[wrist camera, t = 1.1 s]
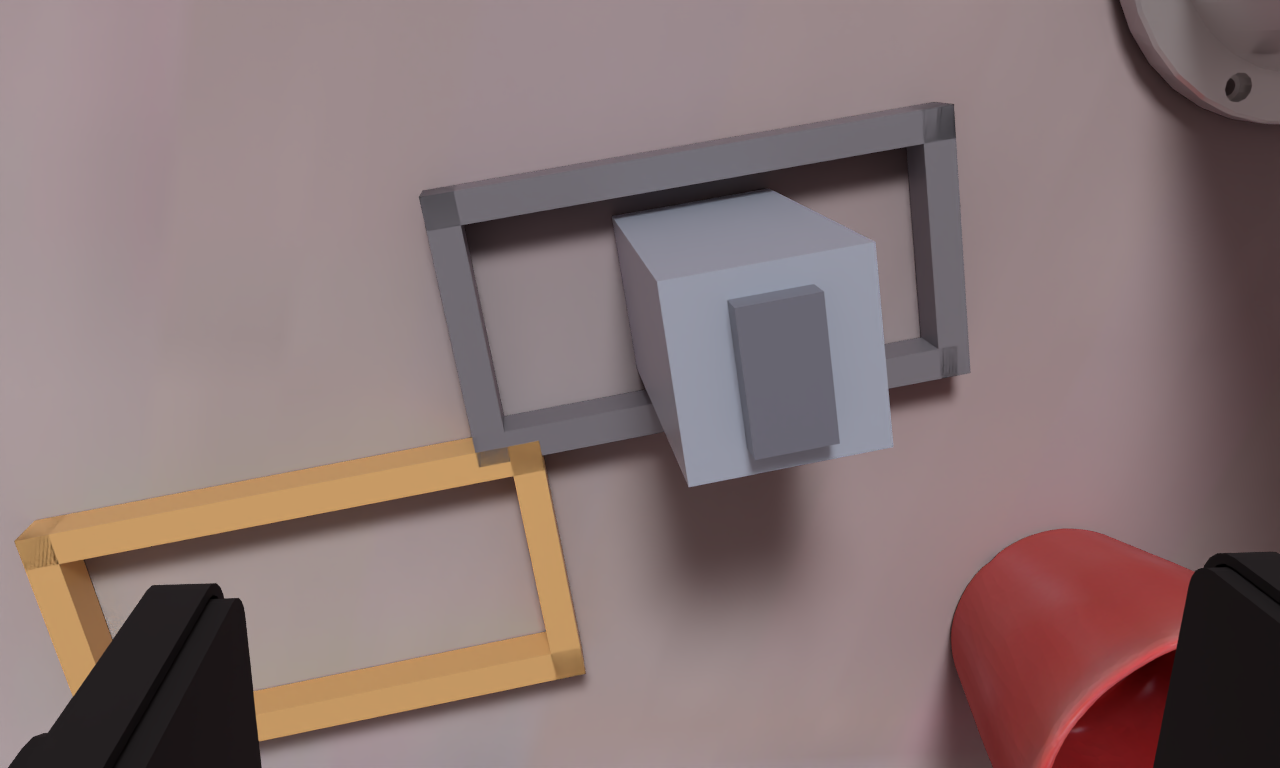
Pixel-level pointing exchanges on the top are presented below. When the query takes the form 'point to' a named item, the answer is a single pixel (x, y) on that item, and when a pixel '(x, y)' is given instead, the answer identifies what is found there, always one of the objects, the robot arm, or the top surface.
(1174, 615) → the flower pot
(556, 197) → the tan grey double frame
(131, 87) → the top surface
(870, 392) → the plug
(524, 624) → the top surface
